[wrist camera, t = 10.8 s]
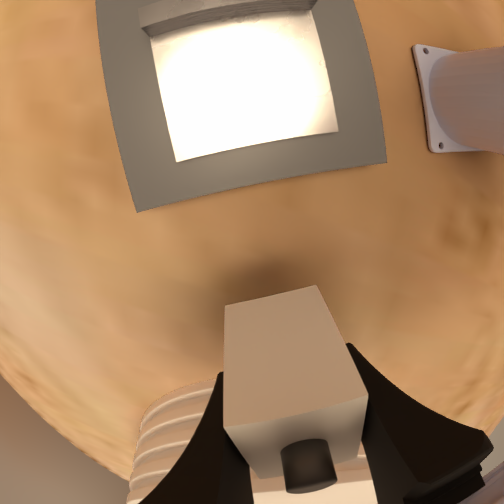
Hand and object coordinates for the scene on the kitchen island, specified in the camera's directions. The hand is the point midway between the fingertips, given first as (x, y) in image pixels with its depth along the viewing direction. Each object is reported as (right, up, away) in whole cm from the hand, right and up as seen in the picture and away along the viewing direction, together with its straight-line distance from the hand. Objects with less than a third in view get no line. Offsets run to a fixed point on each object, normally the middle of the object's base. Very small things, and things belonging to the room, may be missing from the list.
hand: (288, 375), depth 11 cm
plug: (0, +1, +2) cm, 3 cm away
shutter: (-2, +14, +1) cm, 14 cm away
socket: (-3, +19, +1) cm, 20 cm away
